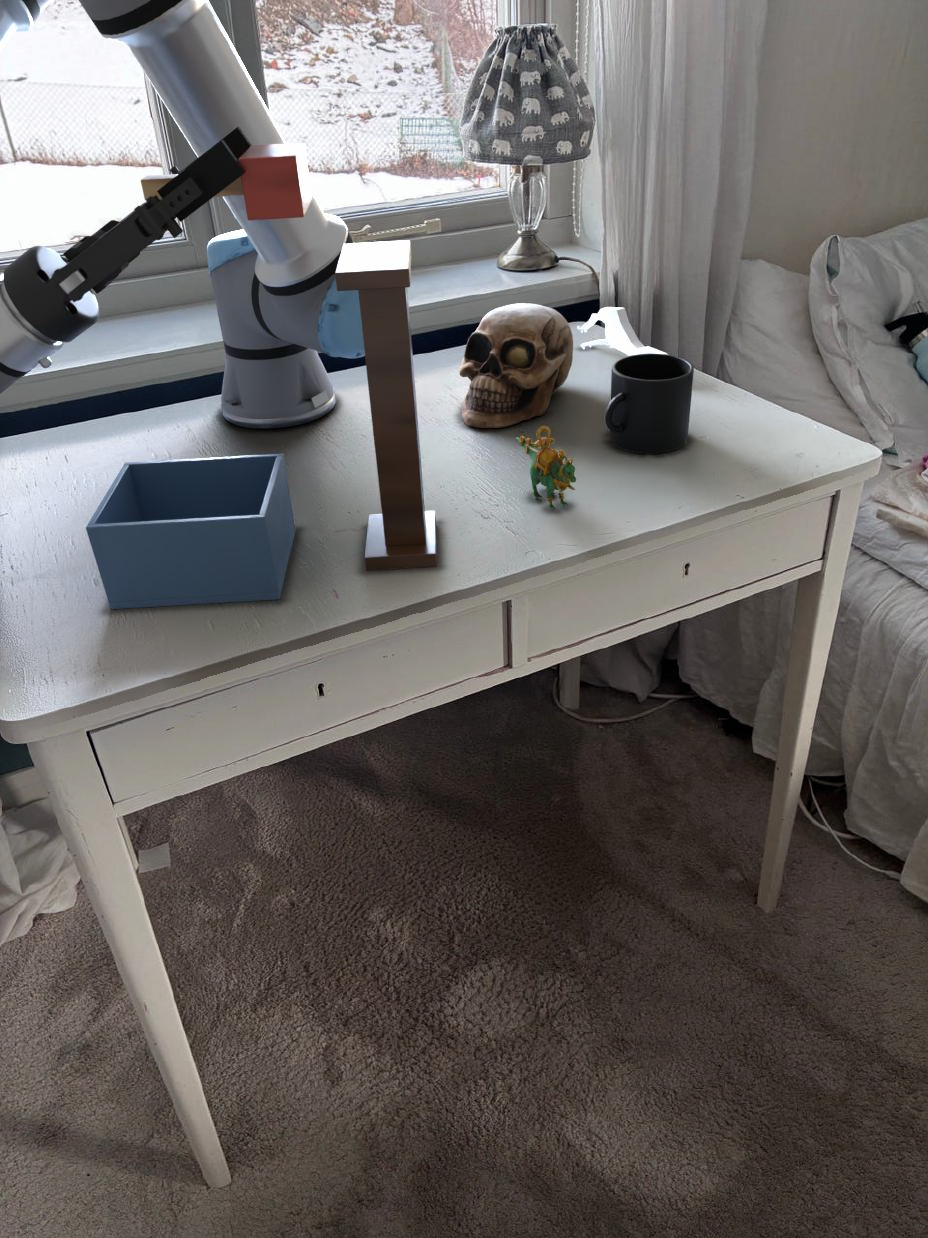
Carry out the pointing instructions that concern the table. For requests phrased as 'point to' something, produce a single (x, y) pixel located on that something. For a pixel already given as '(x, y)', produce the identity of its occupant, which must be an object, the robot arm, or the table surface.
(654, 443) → the mug
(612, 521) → the table surface
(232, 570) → the tub
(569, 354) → the tan skull model
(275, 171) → the mallet
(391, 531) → the stand
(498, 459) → the table surface
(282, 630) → the table surface
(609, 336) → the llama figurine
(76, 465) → the table surface
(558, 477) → the figurine
